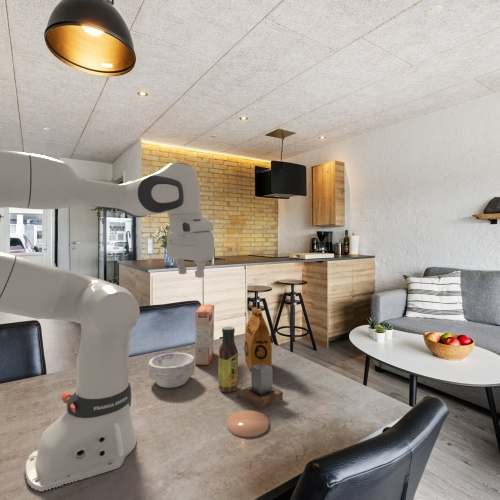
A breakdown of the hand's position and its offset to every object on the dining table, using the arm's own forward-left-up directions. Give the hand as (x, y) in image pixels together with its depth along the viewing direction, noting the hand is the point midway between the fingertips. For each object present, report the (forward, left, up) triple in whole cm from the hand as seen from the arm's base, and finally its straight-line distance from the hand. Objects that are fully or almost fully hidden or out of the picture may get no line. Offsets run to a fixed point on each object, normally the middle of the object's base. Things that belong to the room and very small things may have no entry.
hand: (191, 275), depth 91 cm
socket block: (+21, -6, -39) cm, 44 cm away
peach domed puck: (+9, -14, -39) cm, 42 cm away
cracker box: (+25, +33, -39) cm, 57 cm away
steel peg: (+21, -6, -39) cm, 44 cm away
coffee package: (+36, +13, -39) cm, 55 cm away
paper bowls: (+5, +22, -39) cm, 45 cm away
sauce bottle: (+17, +6, -39) cm, 43 cm away
